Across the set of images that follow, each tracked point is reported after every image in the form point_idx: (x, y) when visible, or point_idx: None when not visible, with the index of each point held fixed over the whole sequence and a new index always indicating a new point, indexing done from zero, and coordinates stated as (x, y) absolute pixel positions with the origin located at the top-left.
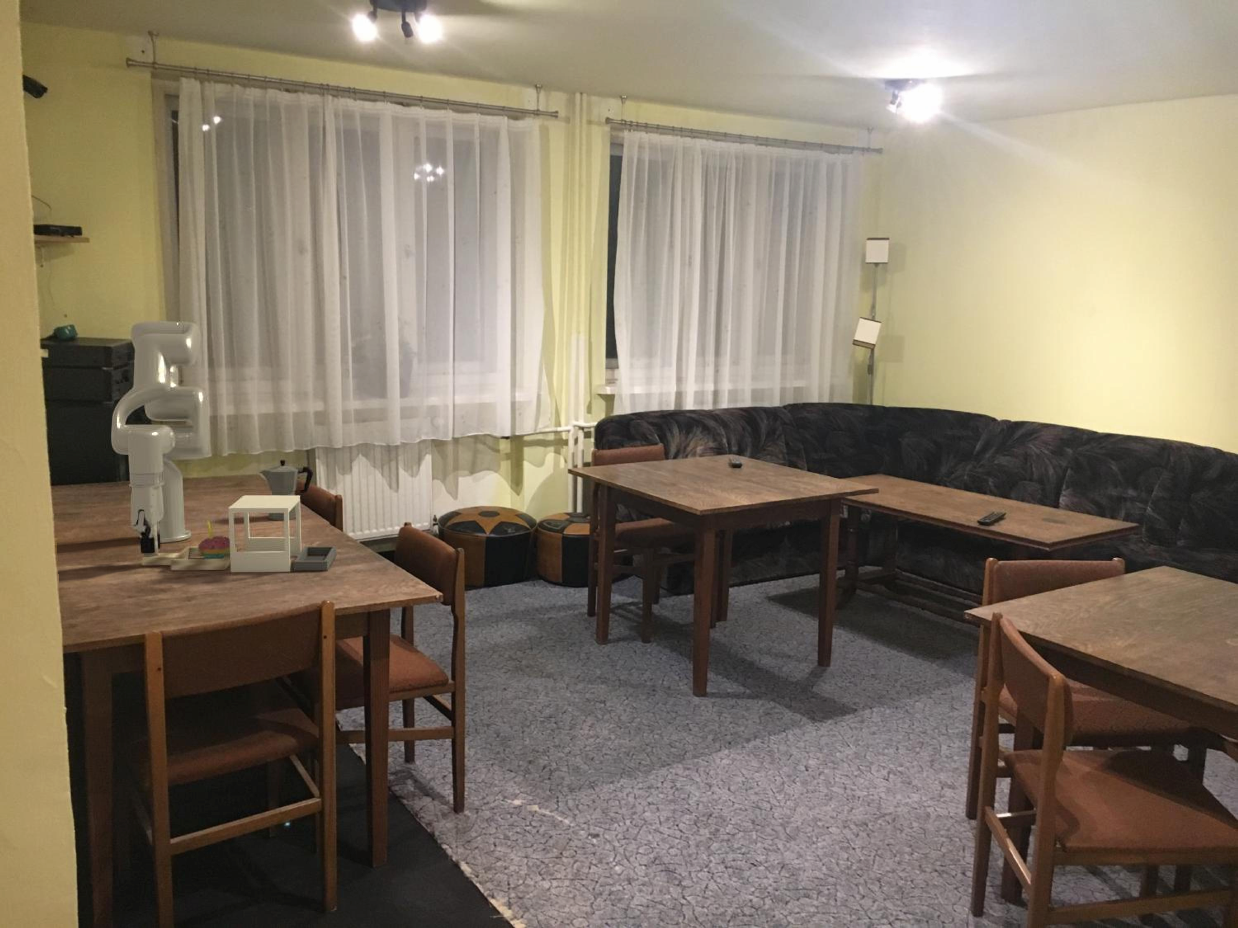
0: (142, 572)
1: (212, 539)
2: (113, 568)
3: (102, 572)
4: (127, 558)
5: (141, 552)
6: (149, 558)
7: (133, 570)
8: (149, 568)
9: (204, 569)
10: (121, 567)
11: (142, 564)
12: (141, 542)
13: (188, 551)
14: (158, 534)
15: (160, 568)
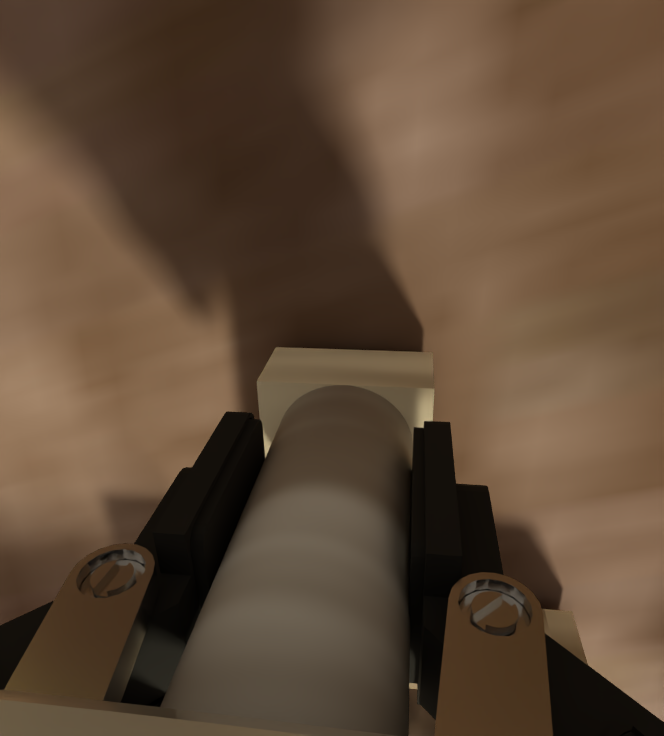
0: (114, 391)
1: None
2: (211, 78)
3: (54, 18)
4: (652, 67)
5: (225, 416)
6: (264, 443)
7: (161, 303)
8: (233, 411)
9: None
10: (253, 152)
11: (273, 354)
12: (182, 496)
13: None
14: (417, 685)
15: None
